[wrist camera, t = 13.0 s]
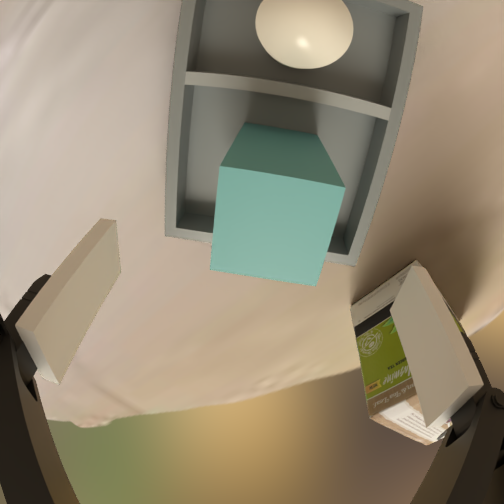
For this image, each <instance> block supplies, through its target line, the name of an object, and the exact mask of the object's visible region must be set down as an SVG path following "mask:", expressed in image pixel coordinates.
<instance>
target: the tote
mask: <svg viewBox="0 0 504 504" xmlns="http://www.w3.org/2000/svg"><path fill="white" fill-rule="evenodd" d="M262 1H263V0H182V5H181V12H180V18H179V25H178V32H177V40H176V48H175V56H174V65H173V75H172V85H171V96H170V108H169V121H168V137H167V156H166V182H165V236H168V237H174V238H181V239H187V240H193V241H199V242H206V243H212V239H213V228H214V217H215V207H216V196H217V186H218V177H219V168H220V164H221V163H222V161H223V159H224V157H225V156H226V154H227V152H228V150H229V149H230V147H231V145H232V143H233V142H234V140H235V138H236V136H237V135H238V133H239V131H240V130H241V128H242V126H243V125H244V123H252V124H259V125H265V126H271V127H277V128H283V129H289V130H294V131H300V132H305V133H310V134H315V135H318V137H319V139H320V140H321V142H322V144H323V146H324V147H325V149H326V151H327V153H328V155H329V157H330V159H331V160H332V162H333V164H334V166H335V168H336V170H337V172H338V174H339V176H340V177H341V179H342V181H343V183H344V185H345V187H346V189H345V192H344V196H343V200H342V203H341V207H340V210H339V214H338V217H337V221H336V224H335V227H334V231H333V234H332V237H331V241H330V244H329V247H328V250H327V254H326V257H325V260H324V261H325V262H331V263H337V264H343V265H350V266H356V263H357V260H358V258H359V255H360V252H361V249H362V247H363V244H364V241H365V238H366V235H367V233H368V230H369V227H370V224H371V221H372V218H373V215H374V212H375V209H376V206H377V203H378V200H379V197H380V193H381V190H382V187H383V184H384V180H385V177H386V174H387V170H388V167H389V164H390V160H391V157H392V153H393V149H394V146H395V142H396V138H397V135H398V131H399V127H400V123H401V119H402V115H403V111H404V107H405V102H406V98H407V94H408V89H409V85H410V80H411V75H412V70H413V65H414V60H415V55H416V49H417V44H418V38H419V32H420V25H421V19H422V12H423V6H421V5H418V4H416V3H413V2H411V1H408V0H342V1H343V2H344V4H345V5H346V7H347V8H348V10H349V12H350V14H351V17H352V21H353V37H352V41H351V43H350V46H349V47H348V49H347V51H346V52H345V53H344V54H343V55H342V56H341V57H340V58H339V59H338V60H336V61H335V62H333V63H331V64H329V65H326V66H323V67H319V68H313V69H295V68H290V67H286V66H283V65H281V64H279V63H278V62H276V61H275V60H274V59H272V58H271V57H270V55H269V54H268V53H267V52H266V50H265V48H264V47H263V45H262V44H261V42H260V40H259V38H258V35H257V32H256V24H255V21H256V14H257V10H258V8H259V6H260V4H261V2H262Z"/></svg>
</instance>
